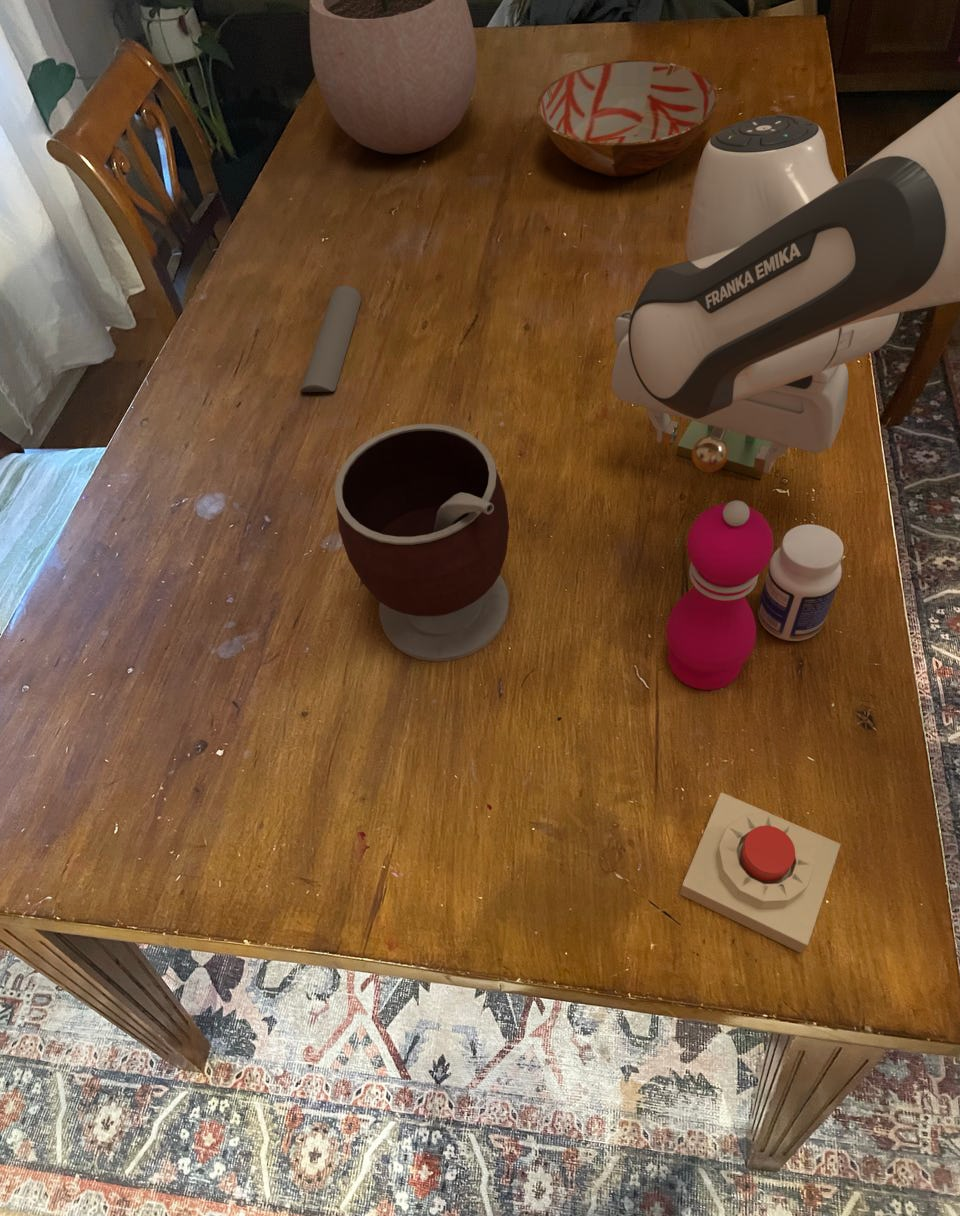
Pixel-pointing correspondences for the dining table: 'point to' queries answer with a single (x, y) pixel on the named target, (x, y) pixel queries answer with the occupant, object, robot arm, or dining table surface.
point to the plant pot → (394, 68)
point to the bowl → (627, 114)
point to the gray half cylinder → (332, 341)
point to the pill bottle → (801, 582)
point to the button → (767, 853)
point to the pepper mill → (718, 596)
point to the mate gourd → (428, 537)
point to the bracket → (737, 443)
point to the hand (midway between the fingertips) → (714, 453)
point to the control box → (751, 901)
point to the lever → (711, 451)
